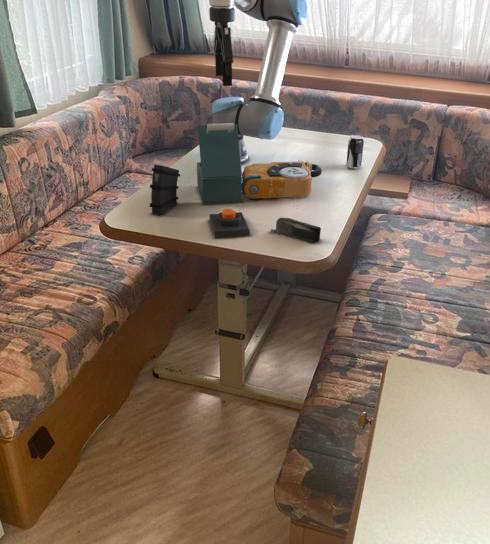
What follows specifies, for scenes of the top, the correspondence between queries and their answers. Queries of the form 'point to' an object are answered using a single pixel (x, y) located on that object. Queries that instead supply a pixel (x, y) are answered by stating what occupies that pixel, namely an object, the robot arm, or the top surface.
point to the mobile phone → (297, 229)
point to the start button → (228, 214)
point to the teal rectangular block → (219, 188)
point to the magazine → (163, 189)
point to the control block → (228, 226)
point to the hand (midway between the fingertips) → (223, 80)
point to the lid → (219, 150)
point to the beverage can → (355, 151)
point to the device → (278, 179)
